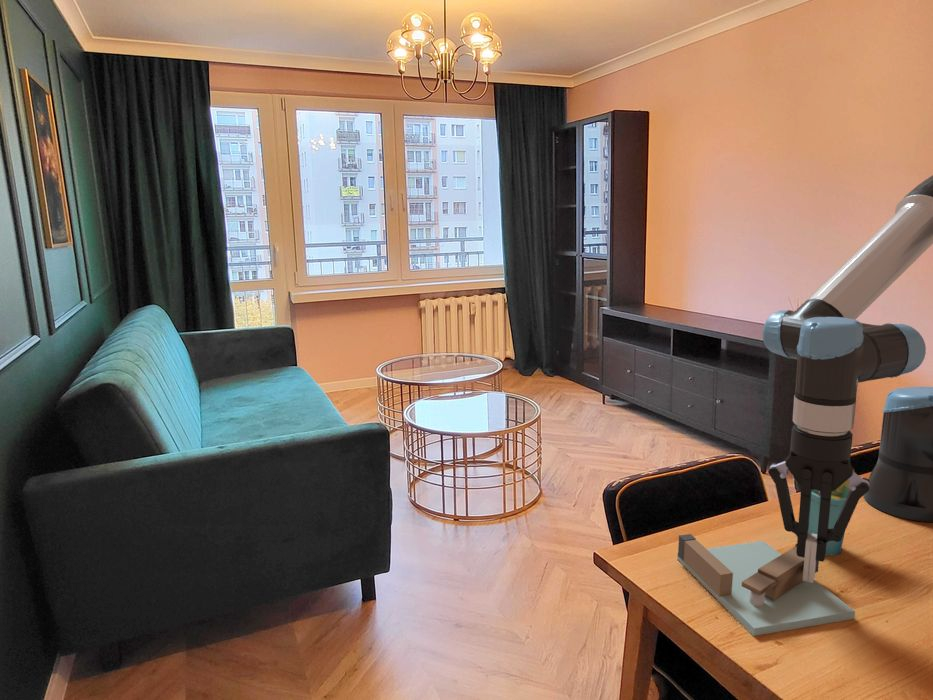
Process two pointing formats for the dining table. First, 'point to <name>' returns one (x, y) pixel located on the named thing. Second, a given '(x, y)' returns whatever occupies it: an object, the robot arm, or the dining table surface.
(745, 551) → the stool seat
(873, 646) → the dining table surface
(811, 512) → the cup
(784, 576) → the leg
